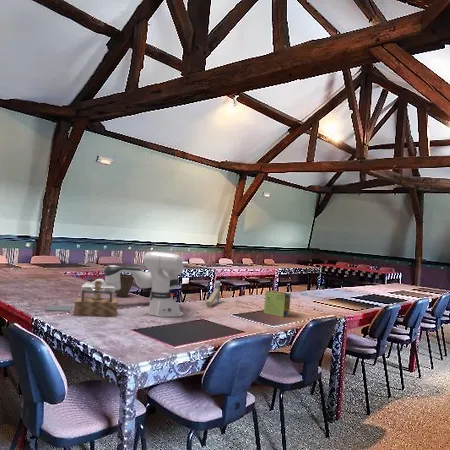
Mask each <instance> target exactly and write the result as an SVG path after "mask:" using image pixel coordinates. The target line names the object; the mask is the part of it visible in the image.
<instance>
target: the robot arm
mask: <svg viewBox="0 0 450 450" xmlns="http://www.w3.org/2000/svg"><path fill="white" fill-rule="evenodd" d="M142 261H143V265H144V266H145V267H146V268H147V269H148V272H147V271H143V270H142V269H141V268H138V267H130V266H120V265H119V266H118V265H113V264H112V265H111V264H110V265H108V266H107V267H105V269H104V278H97V279H95V280H94V281H85V283H84V284H82V285H81V288H80V289H81V290H80V292H81V293H82V290H95V281H102V286H101V291H112V295H116V293H117V292H118V291H119V290H120V289H121V282H120V274H130V275H132V276H133V281H134V282H135V285H137V286H138V287H139V288H141V289H151V290H150V293H149V294H150V295H149V297H150V298H149V299H150V301H149V306H148V310H147V314H148V315H149V316H150V315H151V316H156V317H159V318H163V317H165V318H166V317H167V318H168V317H169V318H170V317H172V318H174V317H183V315H184V312H183V311H181V308H180V304H179V303H178V302H177V301H175V299H174V298H173V297H174V293H172V292H170V290H173V289H175V288H177V287H178V286H179V279H178V276H180V275H181V274H182V273H183V271H184V265H183V258H182V256H181V255H179V254H176V253H172V252H162V251H147V252H146V253H145V254H144V255H143V258H142ZM91 294H93V295H94V293H91ZM103 294H105V295H107V294H106V293H101V295H103Z"/></svg>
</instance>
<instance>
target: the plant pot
mask: <svg viewBox="0 0 450 450" xmlns="http://www.w3.org/2000/svg"><path fill="white" fill-rule="evenodd" d="M133 281H134V278H133V276H132V274H129V273H120V282H121V289H120V290H119V291H118V292H117V293H115V295H116V297H119V298H126V297H128V296H129V293H130V291H131V289H132V286H133Z"/></svg>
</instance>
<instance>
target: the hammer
mask: <svg viewBox="0 0 450 450" xmlns="http://www.w3.org/2000/svg"><path fill="white" fill-rule="evenodd" d="M220 286H221V281H220V280H215V281H214V289H213V292H212V293H211V295H210V296H209V297H208V299H207V301H205V302H206V303H205V306H206V308H212V306H213V304H214V303H219V302H220V298H221V296H220V295H221V293H220V292H221V287H220Z"/></svg>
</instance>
